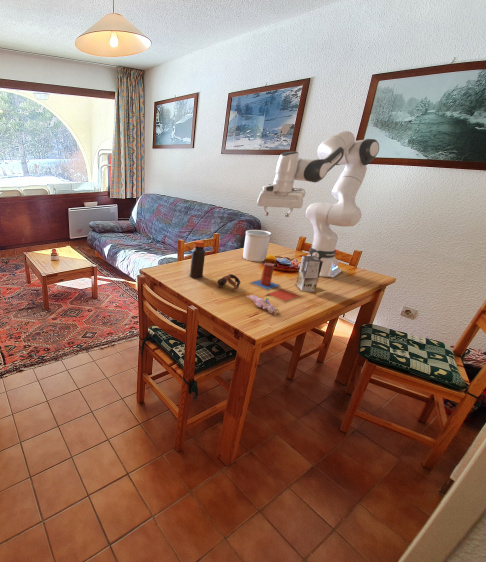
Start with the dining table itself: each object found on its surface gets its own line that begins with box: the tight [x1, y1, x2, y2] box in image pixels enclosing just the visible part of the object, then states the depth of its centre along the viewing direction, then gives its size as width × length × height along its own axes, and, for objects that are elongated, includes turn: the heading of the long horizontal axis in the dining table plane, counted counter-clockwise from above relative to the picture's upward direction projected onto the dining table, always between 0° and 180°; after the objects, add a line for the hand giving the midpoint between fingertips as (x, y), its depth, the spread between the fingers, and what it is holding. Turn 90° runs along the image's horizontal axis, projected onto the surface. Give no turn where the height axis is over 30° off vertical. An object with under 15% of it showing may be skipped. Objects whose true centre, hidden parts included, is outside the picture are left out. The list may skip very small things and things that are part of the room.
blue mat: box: [251, 279, 281, 290], centre depth 161 cm, size 10×10×1 cm
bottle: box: [189, 240, 206, 279], centre depth 169 cm, size 7×7×20 cm
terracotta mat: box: [268, 289, 299, 302], centre depth 149 cm, size 11×9×1 cm
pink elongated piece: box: [247, 294, 281, 316], centre depth 136 cm, size 6×6×15 cm
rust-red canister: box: [260, 262, 275, 286], centre depth 159 cm, size 5×5×11 cm
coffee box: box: [295, 255, 323, 292], centre depth 154 cm, size 9×6×16 cm
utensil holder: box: [242, 229, 272, 262], centre depth 198 cm, size 15×15×18 cm
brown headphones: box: [217, 273, 241, 292], centre depth 156 cm, size 12×10×8 cm
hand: (276, 216), depth 155 cm, fingers open, 8 cm apart
